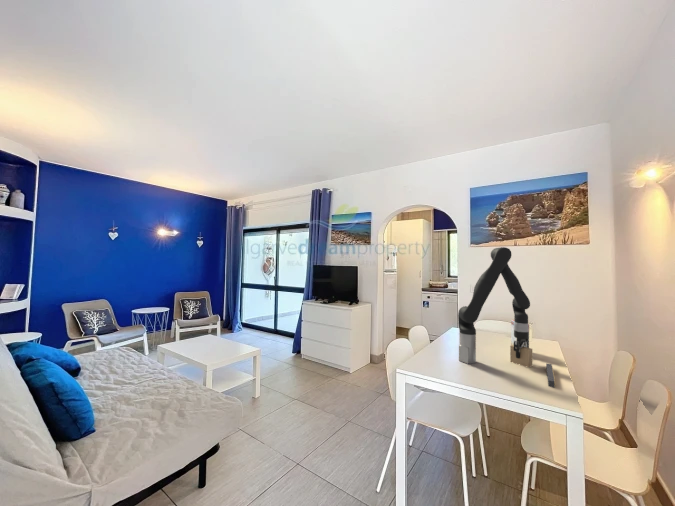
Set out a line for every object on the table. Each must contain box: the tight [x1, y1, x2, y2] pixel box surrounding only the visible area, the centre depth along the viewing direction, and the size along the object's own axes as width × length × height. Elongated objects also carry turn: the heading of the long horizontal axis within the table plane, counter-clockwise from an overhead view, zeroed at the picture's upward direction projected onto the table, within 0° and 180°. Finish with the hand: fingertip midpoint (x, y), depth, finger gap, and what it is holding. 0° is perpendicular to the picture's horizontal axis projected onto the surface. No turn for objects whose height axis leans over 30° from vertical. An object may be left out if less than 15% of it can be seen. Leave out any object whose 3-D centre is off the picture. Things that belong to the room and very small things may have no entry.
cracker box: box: [510, 319, 530, 346], centre depth 188 cm, size 14×6×21 cm, turn 168°
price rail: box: [545, 363, 556, 388], centre depth 148 cm, size 28×3×3 cm, turn 145°
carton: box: [509, 344, 534, 368], centre depth 167 cm, size 10×5×10 cm, turn 34°
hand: (521, 356), depth 167 cm, fingers open, 8 cm apart
